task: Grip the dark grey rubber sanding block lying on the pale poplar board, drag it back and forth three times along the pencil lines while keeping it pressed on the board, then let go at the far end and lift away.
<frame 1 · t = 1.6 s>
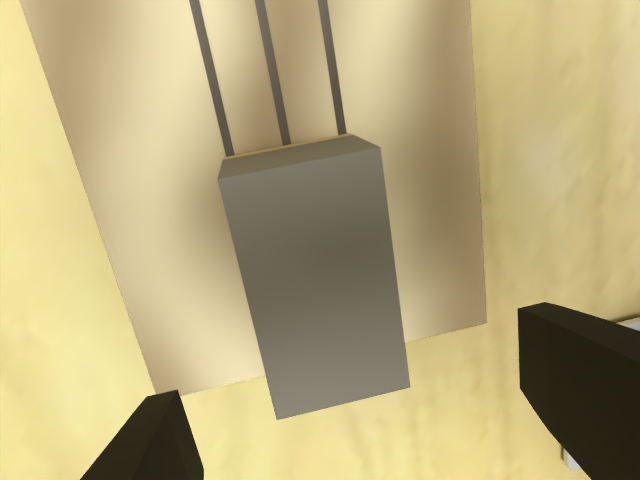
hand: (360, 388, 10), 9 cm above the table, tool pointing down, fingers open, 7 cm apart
board: (285, 142, 17), on the table
sanding block: (307, 250, 18), point 1 cm above the table, touching board
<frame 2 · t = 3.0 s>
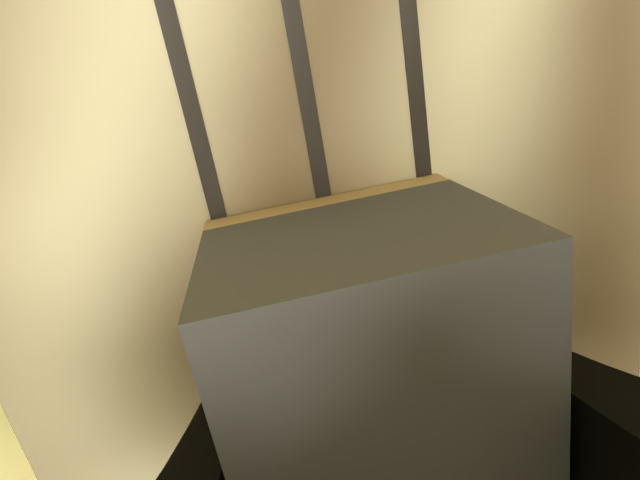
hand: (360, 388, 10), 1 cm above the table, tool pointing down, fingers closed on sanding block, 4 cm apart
board: (317, 187, 10), on the table
sanding block: (353, 372, 10), point 1 cm above the table, touching board, gripper
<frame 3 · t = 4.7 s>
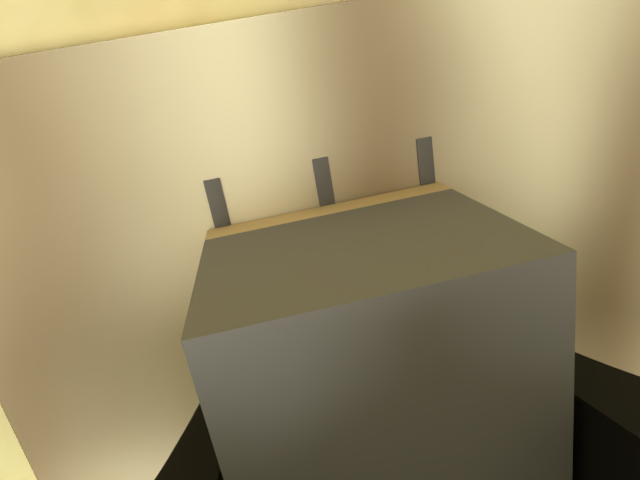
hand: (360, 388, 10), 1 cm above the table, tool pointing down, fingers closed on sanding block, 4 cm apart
board: (358, 413, 12), on the table
sanding block: (355, 380, 10), point 1 cm above the table, touching gripper
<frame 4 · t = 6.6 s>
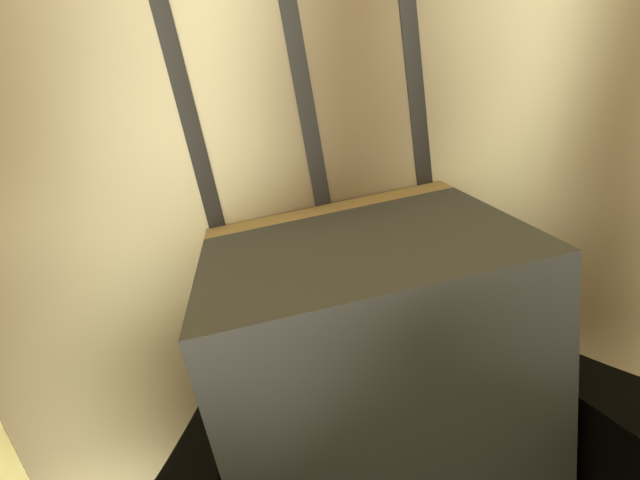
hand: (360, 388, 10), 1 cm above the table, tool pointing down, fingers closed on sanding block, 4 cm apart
board: (337, 309, 10), on the table
sanding block: (356, 380, 10), point 1 cm above the table, touching gripper
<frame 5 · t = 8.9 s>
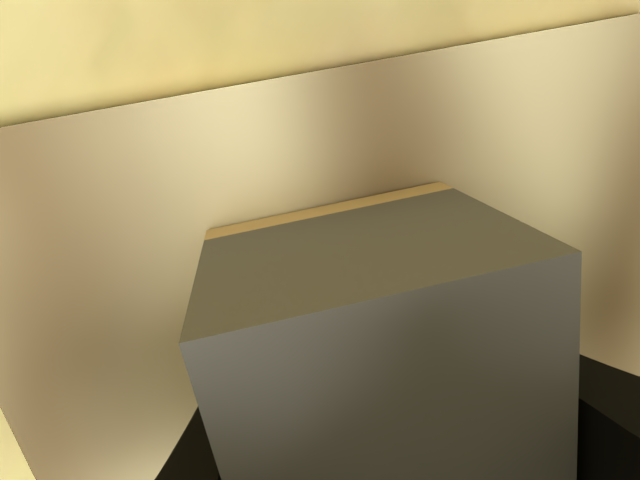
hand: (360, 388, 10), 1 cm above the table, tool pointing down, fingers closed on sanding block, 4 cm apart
board: (363, 446, 12), on the table
sanding block: (356, 381, 10), point 1 cm above the table, touching gripper
when the fingers open (1 cm above the table, at t = 10.5 s): sanding block stays where it is, resting on board.
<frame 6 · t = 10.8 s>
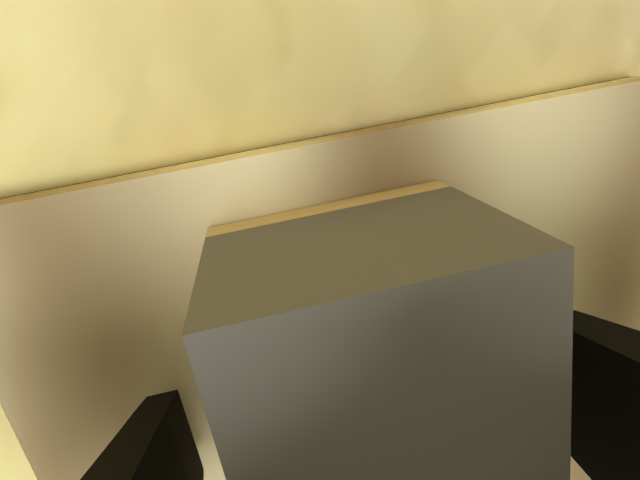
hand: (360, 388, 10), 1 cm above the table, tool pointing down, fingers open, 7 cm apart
sanding block: (355, 377, 10), point 1 cm above the table, touching board
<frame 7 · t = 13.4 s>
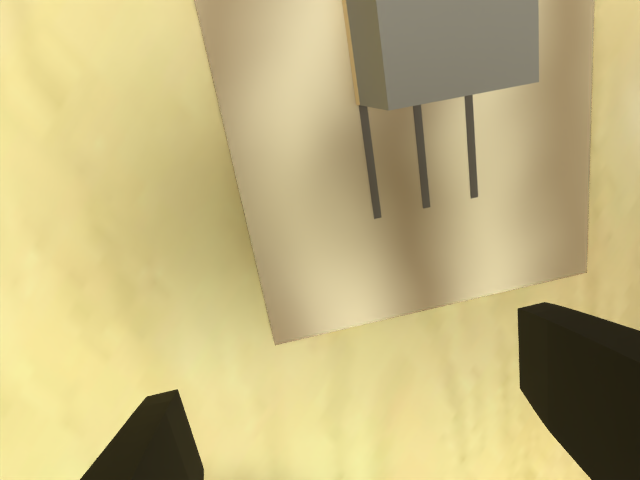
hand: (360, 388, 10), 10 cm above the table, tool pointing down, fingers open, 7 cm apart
board: (407, 89, 18), on the table
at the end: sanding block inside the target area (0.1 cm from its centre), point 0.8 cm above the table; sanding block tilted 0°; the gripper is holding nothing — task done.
